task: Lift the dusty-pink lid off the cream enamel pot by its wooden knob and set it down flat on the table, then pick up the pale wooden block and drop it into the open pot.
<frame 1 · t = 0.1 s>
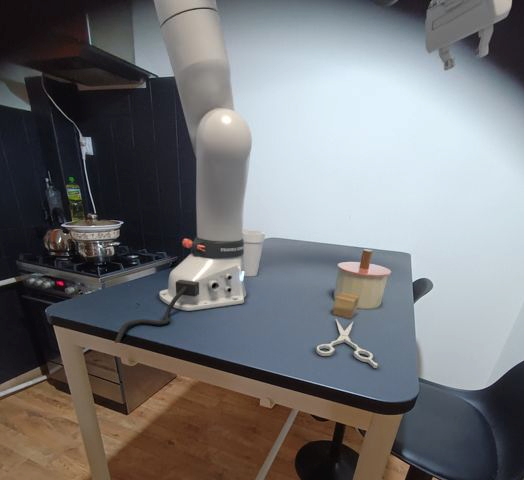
hand: (464, 63, 72), 54 cm above the table, tool tilted 30°, fingers open, 8 cm apart
block: (344, 314, 77), on the table
foam cup: (247, 274, 104), on the table
lid: (363, 269, 83), point 8 cm above the table, touching pot
scissors: (344, 340, 64), on the table
pot: (356, 300, 87), on the table
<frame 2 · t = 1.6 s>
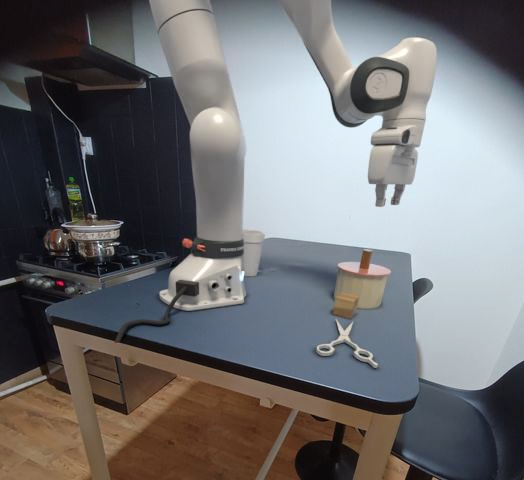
hand: (387, 205, 77), 24 cm above the table, tool pointing down, fingers open, 8 cm apart
nothing on the table moved.
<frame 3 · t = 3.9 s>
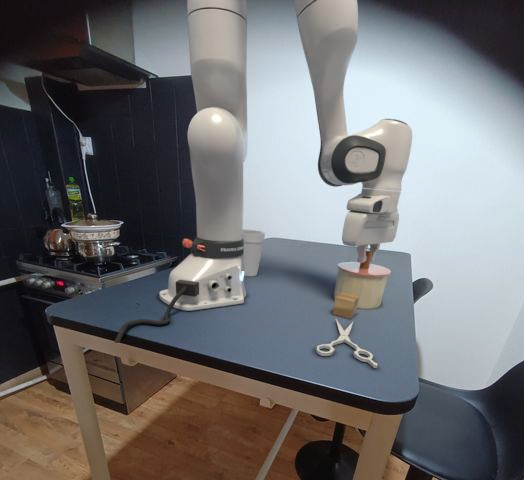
hand: (365, 261, 82), 11 cm above the table, tool pointing down, fingers closed on lid, 2 cm apart
lid: (363, 269, 83), point 9 cm above the table, touching gripper, pot
everything else where it was.
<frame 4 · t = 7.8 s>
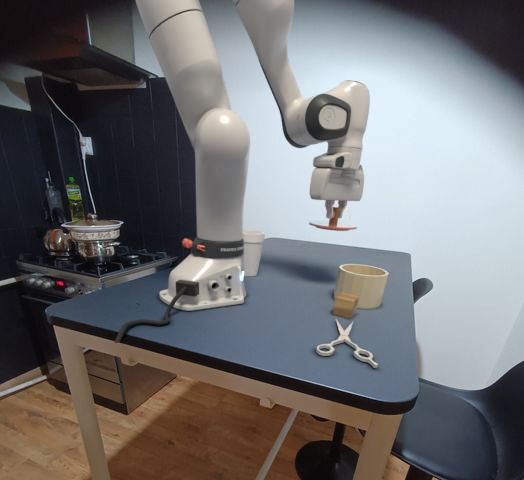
hand: (333, 218, 90), 19 cm above the table, tool pointing down, fingers closed on lid, 2 cm apart
lid: (332, 226, 91), point 17 cm above the table, touching gripper
everything else where it was.
when the fingers open (3 cm above the table, at t = 11.5 s): lid stays where it is, point 1 cm above the table.
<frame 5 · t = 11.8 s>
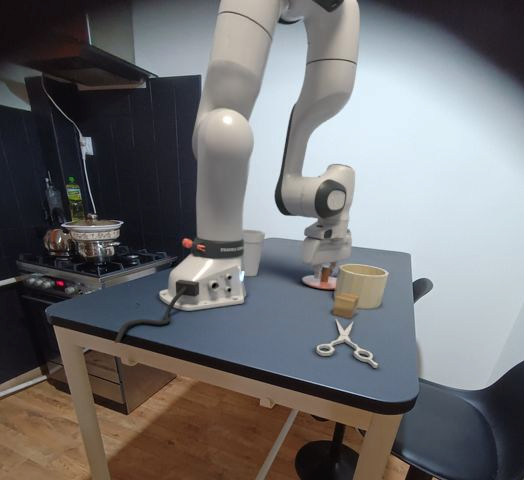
hand: (323, 276, 98), 2 cm above the table, tool pointing down, fingers open, 5 cm apart
lid: (323, 282, 99), point 1 cm above the table
everything else where it was.
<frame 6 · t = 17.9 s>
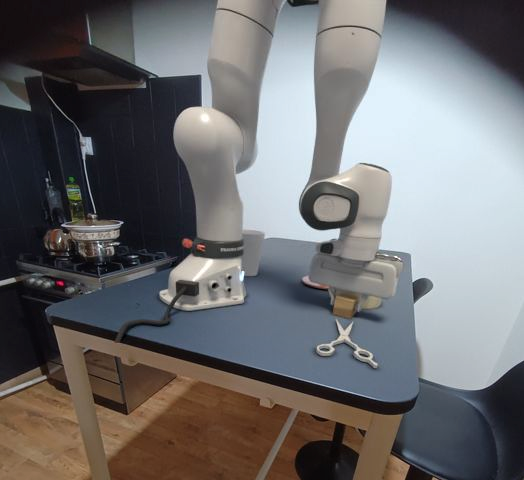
hand: (345, 307, 77), 2 cm above the table, tool pointing down, fingers closed on block, 4 cm apart
block: (344, 314, 77), on the table, touching gripper
everything else where it was.
when the fingers open (12 cm above the table, at t = 23.7 s): block drops 8 cm and tips over, resting on pot.
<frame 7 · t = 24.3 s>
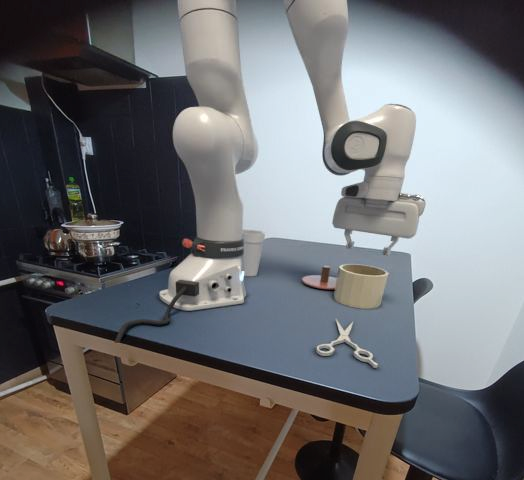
hand: (367, 251, 81), 13 cm above the table, tool pointing down, fingers open, 8 cm apart
block: (359, 293, 86), point 2 cm above the table, tilted 46°, touching pot
everything else where it was.
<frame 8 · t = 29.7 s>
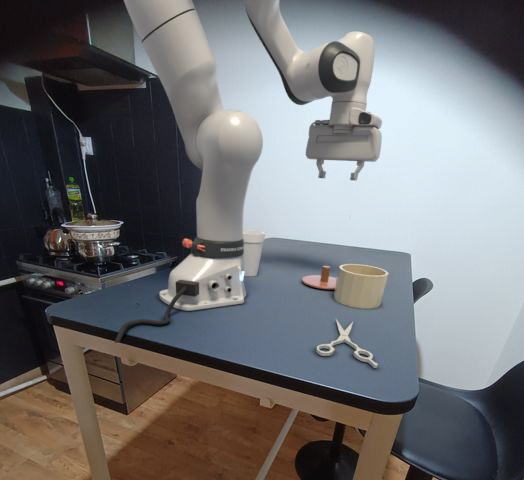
hand: (337, 179, 89), 29 cm above the table, tool pointing down, fingers open, 8 cm apart
nothing on the table moved.
at the end: lid inside the target area (0.3 cm from its centre), point 0.6 cm above the table; lid tilted 0°; block inside the target area in the pot (0.4 cm from its centre), point 2.1 cm above the pot's base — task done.
